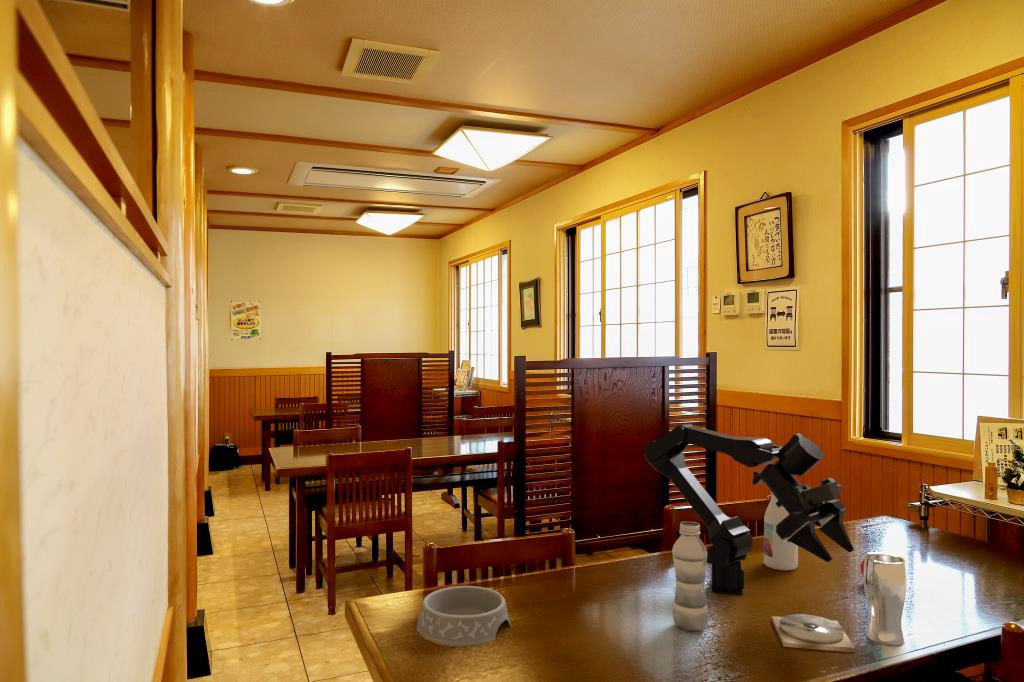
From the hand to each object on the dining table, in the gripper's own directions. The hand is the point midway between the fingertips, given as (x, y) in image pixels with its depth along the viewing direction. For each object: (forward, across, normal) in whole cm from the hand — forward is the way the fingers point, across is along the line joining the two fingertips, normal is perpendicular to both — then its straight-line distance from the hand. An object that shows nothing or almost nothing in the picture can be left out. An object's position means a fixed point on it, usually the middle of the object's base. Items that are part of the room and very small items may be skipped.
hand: (841, 555), depth 133 cm
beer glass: (+15, 0, +4) cm, 16 cm away
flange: (+8, -9, +10) cm, 16 cm away
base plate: (+8, -9, +10) cm, 16 cm away
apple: (+7, +28, +12) cm, 31 cm away
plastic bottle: (-3, -24, +22) cm, 33 cm away
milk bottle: (-8, +24, +28) cm, 38 cm away
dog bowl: (-23, -56, +43) cm, 75 cm away
